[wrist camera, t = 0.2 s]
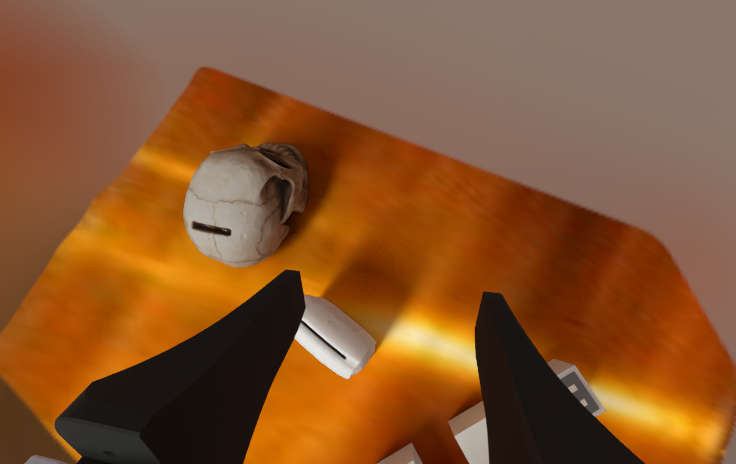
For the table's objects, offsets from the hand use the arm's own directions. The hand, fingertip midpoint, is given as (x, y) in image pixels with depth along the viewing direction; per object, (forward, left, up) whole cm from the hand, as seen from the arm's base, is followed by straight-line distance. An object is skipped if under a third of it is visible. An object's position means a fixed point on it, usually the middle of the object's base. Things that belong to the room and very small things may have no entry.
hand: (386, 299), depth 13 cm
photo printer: (-4, +7, -31) cm, 32 cm away
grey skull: (+12, +21, -31) cm, 40 cm away
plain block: (-13, -11, -31) cm, 35 cm away
